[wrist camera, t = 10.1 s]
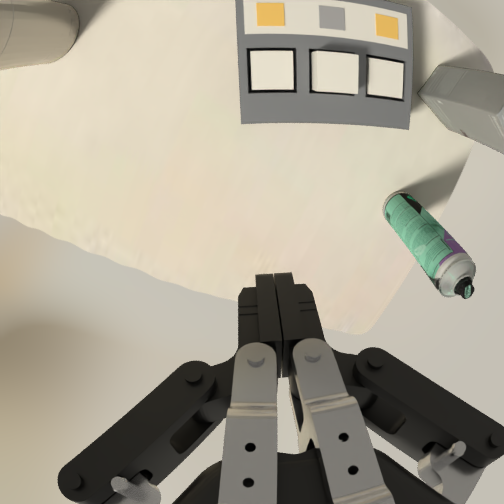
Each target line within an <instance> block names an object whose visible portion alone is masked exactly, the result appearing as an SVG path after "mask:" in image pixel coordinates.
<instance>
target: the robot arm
mask: <svg viewBox="0 0 504 504" xmlns="http://www.w3.org/2000/svg"><path fill="white" fill-rule="evenodd" d="M78 30H79V18H78V14H77V12H76V11H75V9H74V8H73V7H71V6H70V5H67V4H64V3H59V2H55V1H50V0H0V70H4V69H10V68H16V67H23V66H31V65H39V64H47V63H52V62H55V61H57V60H58V59H60V58H62V57H63V56H64V55H65V54H66V53H67V52H68V51H69V49H70V48H71V47H72V45H73V43H74V42H75V39H76V37H77V34H78ZM255 277H256V287H248V288H243V289H242V291H241V293H240V294H239V296H238V349H237V351H236V353H235V355H234V356H233V357H232V358H230V359H229V360H228V361H226V362H223V363H220V364H217V365H214V366H210V365H208V364H207V363H205V362H202V361H190V362H187V363H184V364H183V365H181V366H180V367H179V368H177V369H176V370H175V371H174V372H173V373H172V374H171V375H170V376H169V377H168V378H167V379H165V380H164V381H163V382H162V383H161V384H160V385H159V386H158V387H156V388H155V389H154V390H153V391H152V392H151V393H150V394H148V395H147V396H146V397H145V398H144V399H143V400H142V401H140V402H139V403H138V404H137V405H136V406H135V407H134V408H132V409H131V410H130V411H129V412H128V413H127V414H126V415H124V416H123V417H122V418H121V419H120V420H119V421H118V422H116V423H115V424H114V425H113V426H112V427H110V428H109V429H108V430H107V431H106V432H105V433H103V434H102V435H101V436H100V437H99V438H97V439H96V440H95V441H94V442H93V443H92V444H90V445H89V446H88V447H87V448H86V449H84V450H83V451H82V452H81V453H80V454H78V455H77V456H76V457H75V458H74V459H72V460H71V461H70V462H69V463H67V464H66V465H65V466H64V467H63V468H62V469H61V470H60V472H59V475H58V486H59V489H60V491H61V493H62V494H63V495H64V496H65V497H66V498H68V499H69V500H71V501H74V502H76V503H79V504H160V501H161V494H160V491H159V489H158V488H157V485H158V484H159V483H161V481H163V480H164V479H165V478H166V477H167V476H168V475H169V474H170V473H171V472H172V471H173V470H174V469H175V468H176V467H177V466H178V465H179V464H180V463H182V462H183V461H184V459H186V458H187V457H188V456H189V455H190V454H191V453H192V452H193V451H194V450H195V449H196V447H198V446H199V445H200V444H201V443H202V442H203V441H204V439H205V438H206V437H207V436H208V435H209V434H210V433H211V432H212V431H213V430H214V429H215V428H216V426H218V425H219V424H220V423H221V421H222V420H223V419H224V418H226V428H225V437H224V447H223V457H222V461H219V462H217V463H215V464H213V465H212V466H210V467H208V468H207V469H206V470H204V471H203V472H202V473H201V474H200V475H199V476H198V477H197V478H196V479H195V480H194V481H193V482H192V483H191V485H190V486H189V487H188V488H187V489H186V490H185V491H184V492H183V493H182V494H181V495H180V496H179V497H178V498H177V499H176V500H175V501H174V502H173V503H172V504H465V503H466V501H467V500H468V498H469V496H470V495H471V493H472V491H473V489H474V488H475V486H476V484H477V482H478V480H479V479H480V477H481V475H482V473H483V471H484V469H485V468H486V466H488V465H489V464H491V463H492V462H494V461H495V460H497V459H498V458H500V457H501V456H502V455H504V427H503V426H502V425H501V424H499V423H497V422H496V421H494V420H493V419H491V418H490V417H488V416H486V415H485V414H483V413H481V412H480V411H479V410H477V409H475V408H474V407H472V406H471V405H469V404H467V403H466V402H464V401H463V400H461V399H460V398H458V397H456V396H455V395H453V394H452V393H450V392H449V391H447V390H445V389H444V388H442V387H440V386H439V385H437V384H436V383H434V382H433V381H431V380H430V379H428V378H427V377H425V376H423V375H422V374H420V373H419V372H417V371H416V370H414V369H413V368H411V367H410V366H408V365H406V364H405V363H403V362H402V361H400V360H399V359H397V358H396V357H394V356H393V355H391V354H389V353H388V352H386V351H385V350H383V349H380V348H375V347H370V348H366V349H364V350H362V351H361V352H360V353H359V354H358V355H353V354H346V353H341V352H338V351H336V350H334V349H333V348H331V347H330V346H329V345H328V344H327V342H326V341H325V338H324V335H323V331H322V327H321V323H320V319H319V315H318V312H317V308H316V304H315V300H314V297H313V293H312V291H311V290H310V289H309V288H308V287H307V286H306V284H294V280H293V276H292V273H291V272H290V273H274V278H273V274H259V275H255ZM281 371H282V377H288V378H289V385H290V388H289V397H290V401H291V406H292V410H293V415H294V420H295V424H296V429H297V434H298V446H299V454H286V453H279V452H277V386H278V378H280V377H281ZM366 426H367V427H368V428H370V429H371V430H372V431H374V432H375V433H377V434H378V435H379V436H381V437H382V438H384V439H385V440H386V441H388V442H389V443H391V444H392V445H394V446H395V447H396V448H398V449H399V450H401V451H402V452H404V453H405V454H407V455H408V456H410V457H411V458H413V459H414V460H416V461H417V462H418V474H419V477H420V478H421V479H422V480H423V481H425V482H426V483H424V482H423V481H421V480H420V479H419V478H417V477H416V476H414V475H413V474H412V473H410V472H409V471H408V470H406V469H405V468H404V467H402V466H401V465H399V464H398V463H397V462H395V461H394V460H393V459H392V458H390V457H389V456H387V455H386V454H385V453H383V452H381V451H379V450H377V449H375V448H373V446H372V443H371V440H370V437H369V434H368V431H367V428H366Z"/></svg>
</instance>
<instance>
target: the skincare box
mask: <svg viewBox="0 0 504 504" xmlns="http://www.w3.org/2000/svg"><path fill="white" fill-rule="evenodd" d="M418 95H419V96H420V97H421V98H422V100H423V101H424V102H425V103H426V104H427V106H428V107H429V108H430V109H431V110H432V112H433V113H434V114H435V115H436V116H437V117H438V119H439V120H440V121H441V122H442V123H443V124H444V125H445V126H446V128H447V129H448V130H451V131H453V132H456V133H458V134H461V135H463V136H465V137H468V138H470V139H473V140H475V141H477V142H480V143H482V144H483V145H486V146H488V147H490V148H492V149H494V150H496V151H498V152H500V153H502V154H504V75H502V74H497V73H492V72H486V71H480V70H474V69H467V68H459V67H450V66H440V65H438V67H437V68H436V69H435V71H434V72H433V73H432V75H431V76H430V78H429V79H428V80H427V82H426V83H425V84H424V86H423V87H422V89H421V90H420V91H419V92H418Z"/></svg>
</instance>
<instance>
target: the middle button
mask: <svg viewBox="0 0 504 504" xmlns="http://www.w3.org/2000/svg"><path fill="white" fill-rule="evenodd" d="M358 71H359V55H356V54H347V53H338V52H326V51H314V52H311V90H315V91H321V92H338V93H351V94H358Z"/></svg>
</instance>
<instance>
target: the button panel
mask: <svg viewBox="0 0 504 504" xmlns="http://www.w3.org/2000/svg"><path fill="white" fill-rule="evenodd" d="M235 1H236V24H237V46H238V67H239V89H240V109H241V124H254V123H329V124H350V125H365V126H377V127H388V128H397V129H406V130H409V123H410V112H411V97H412V76H413V27H412V7H408V6H405V5H401V4H397V3H393V2H389V1H385V0H235ZM250 51H293V82H294V89H268V90H252V89H251V69H250ZM314 51H326V52H338V53H347V54H356V55H359V71H358V94H351V93H338V92H321V91H315V90H311V52H314ZM366 58H374V59H381V60H387V61H392V62H397V63H403V92H402V99H401V98H395V97H388V96H380V95H372V94H366Z"/></svg>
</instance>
